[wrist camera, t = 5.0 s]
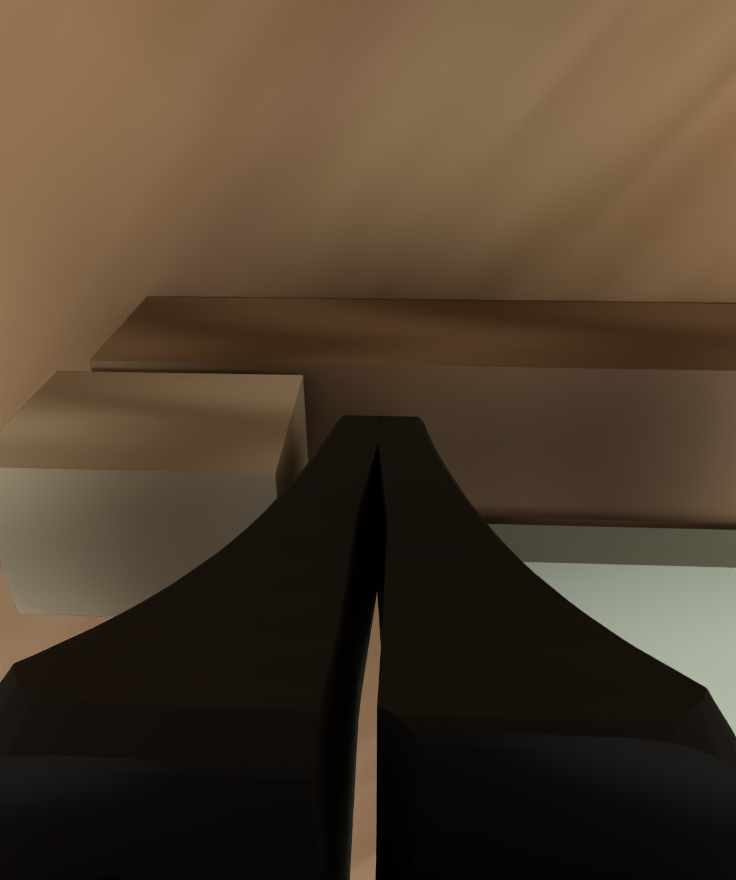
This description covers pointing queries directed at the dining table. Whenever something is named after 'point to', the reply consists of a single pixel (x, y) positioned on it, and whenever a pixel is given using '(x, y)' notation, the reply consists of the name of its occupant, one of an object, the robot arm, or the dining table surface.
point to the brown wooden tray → (495, 392)
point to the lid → (648, 591)
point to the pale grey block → (138, 481)
